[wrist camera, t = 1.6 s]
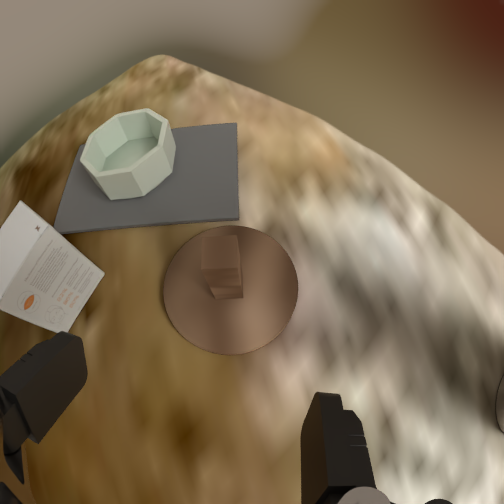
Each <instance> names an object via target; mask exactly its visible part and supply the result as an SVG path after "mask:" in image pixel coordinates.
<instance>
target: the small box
mask: <svg viewBox="0 0 504 504" xmlns="http://www.w3.org/2000/svg"><path fill="white" fill-rule="evenodd" d="M104 275H105V273H104V272H103V271H102V270H101V269H100V268H98V267H97V266H96V265H95V264H94V263H92V262H91V261H90V260H89V259H88V258H87V257H85V256H84V255H83V254H82V253H81V252H80V251H79V250H77V249H76V248H75V247H74V246H73V245H72V244H71V243H70V242H68V241H67V240H66V239H65V238H64V237H63V236H62V235H61V234H60V233H59V232H57V231H56V230H55V229H54V228H53V227H52V226H51V225H50V224H48V223H47V222H46V221H45V220H44V219H43V218H41V217H40V216H39V215H38V214H37V213H35V212H34V211H33V210H32V209H31V208H29V207H28V206H27V205H26V204H25V203H23V202H22V201H19V203H18V204H17V206H16V207H15V208H14V210H13V211H12V213H11V214H10V215H9V217H8V218H7V220H6V221H5V223H4V224H3V226H2V227H1V229H0V310H2V311H4V312H7V313H9V314H11V315H13V316H16V317H18V318H21V319H23V320H25V321H28V322H30V323H33V324H35V325H38V326H40V327H43V328H45V329H48V330H51V331H54V332H56V333H59V332H60V331H65V332H67V333H68V331H69V329H70V327H71V326H72V324H73V323H74V321H75V319H76V318H77V316H78V314H79V313H80V311H81V310H82V308H83V306H84V305H85V303H86V302H87V300H88V299H89V297H90V296H91V294H92V293H93V291H94V289H95V288H96V286H97V285H98V283H99V282H100V280H101V279H102V278H103V276H104Z"/></svg>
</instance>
